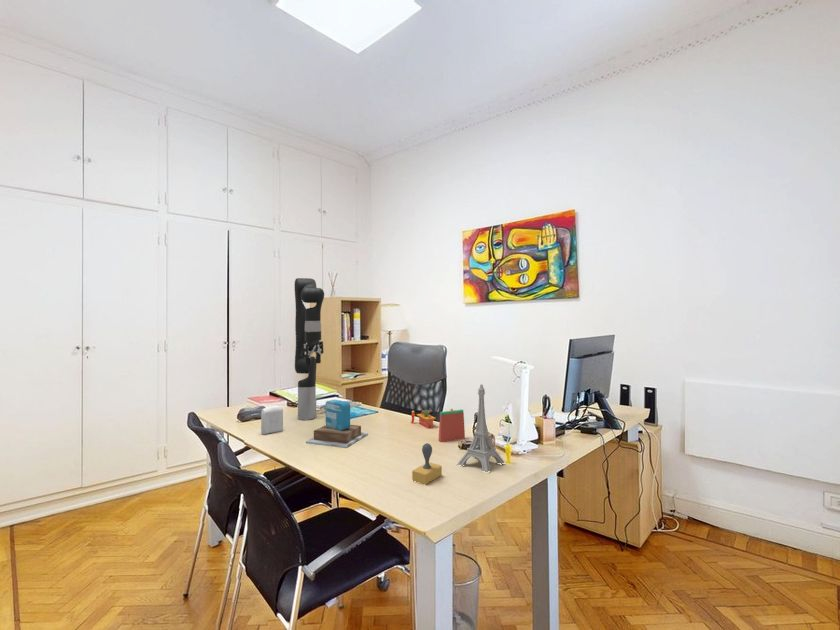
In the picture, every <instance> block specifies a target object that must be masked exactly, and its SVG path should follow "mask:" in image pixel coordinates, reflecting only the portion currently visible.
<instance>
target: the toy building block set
mask: <svg viewBox="0 0 840 630" xmlns="http://www.w3.org/2000/svg"><path fill="white" fill-rule="evenodd" d="M430 413H431V410H429V409H422V410H421V413H416V414H415V410H411V415H410V416H411V421H410V423H411V424H414V422H415V417H416V416H417V417H418V424H419V425H420V426H423V427H424V428H426V429H429V428H434V420H436V417H435V416H433V415H431V414H430ZM438 427H439V430H438V442H440V443H445V442H452V441H458V440H464V439H466V433H465V432H466V430H465V415H464V409H455V410H454V409H453V408H450V409H449V410H447V411H445V410H444V411H440V412H439V426H438Z"/></svg>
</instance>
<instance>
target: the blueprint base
mask: <svg viewBox="0 0 840 630" xmlns="http://www.w3.org/2000/svg"><path fill="white" fill-rule="evenodd" d="M368 435H369V433H368V432H362V426H361V425H357V424H356V425H355V424H350V428H349V429H346V430H342V431H340V430H336V429H332V428H328V427H327V426H326V424H325V425H323V426H320V427H318V428H317V429H314V430H313V437H312V438H310V439H308V440H305V444H311V445H319V446H327V447H335V448H345V449H348V448H349V447H351V446H352V445H354V444H355V443H357V442H358V441H360V440H362V439H364V438H365V437H367V436H368Z"/></svg>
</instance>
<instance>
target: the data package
mask: <svg viewBox="0 0 840 630" xmlns="http://www.w3.org/2000/svg"><path fill="white" fill-rule="evenodd" d="M325 425H326V426H327V427H328V428H332V429H336V430H340V431H342V430H346V429H349V428H350V425H351V403H350V402H349V401H345V400H344V401H343V400H339V399H331V400H326V402H325Z"/></svg>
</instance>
